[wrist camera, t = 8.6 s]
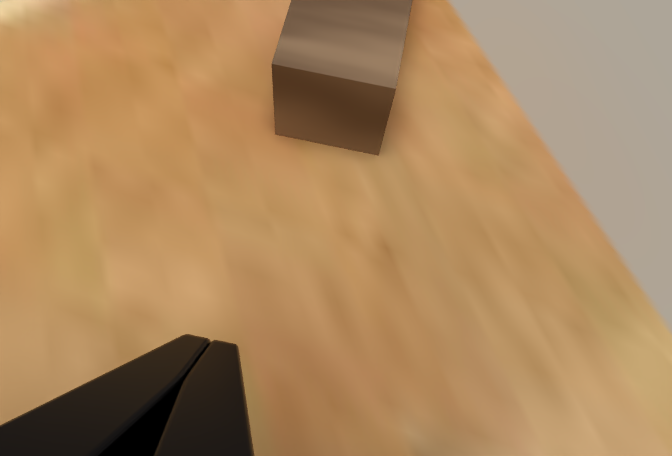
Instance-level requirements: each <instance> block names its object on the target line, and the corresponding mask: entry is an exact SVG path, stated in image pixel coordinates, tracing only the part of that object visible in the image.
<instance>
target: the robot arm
mask: <svg viewBox="0 0 672 456" xmlns="http://www.w3.org/2000/svg"><path fill="white" fill-rule="evenodd" d="M0 456H254V451H253V444H252V437H251V431H250V424H249V417H248V410H247V403H246V396H245V389H244V383H243V376H242V369H241V362H240V355H239V349H238V346H237V345H236V344H233V343H228V342H223V341H218V340H214V341H212V342H211V341H210V340H209V339H208V338H204V337H199V336H194V335H189V334H185V335H182V336H180V337H178V338H176V339H174V340H172V341H170V342H168V343H166V344H164V345H162V346H160V347H158V348H156V349H154V350H152V351H150V352H148V353H146V354H144V355H142V356H140V357H138V358H136V359H134V360H132V361H130V362H128V363H126V364H124V365H122V366H120V367H118V368H116V369H114V370H112V371H110V372H107V373H105V374H103V375H101V376H99V377H97V378H95V379H93V380H91V381H89V382H87V383H85V384H83V385H81V386H79V387H77V388H75V389H73V390H71V391H69V392H67V393H65V394H63V395H61V396H59V397H57V398H55V399H53V400H51V401H49V402H47V403H45V404H43V405H41V406H39V407H37V408H35V409H33V410H31V411H29V412H27V413H25V414H22V415H20V416H18V417H16V418H14V419H12V420H10V421H8V422H6V423H4V424H2V425H0Z"/></svg>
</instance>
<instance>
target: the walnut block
mask: <svg viewBox="0 0 672 456" xmlns="http://www.w3.org/2000/svg"><path fill="white" fill-rule="evenodd" d="M411 5H412V0H291V3H290V6H289V10H288V13H287V16H286V19H285V22H284V26H283V29H282V32H281V35H280V39H279V42H278V45H277V48H276V52H275V55H274V58H273V61H272V79H273V98H274V117H275V134H276V135H281V136H286V137H291V138H296V139H301V140H305V141H310V142H315V143H320V144H325V145H330V146H335V147H340V148H345V149H350V150H354V151H359V152H364V153H369V154H374V155H379V151H380V147H381V143H382V140H383V136H384V132H385V128H386V124H387V121H388V117H389V113H390V109H391V105H392V102H393V98H394V94H395V90H396V86H397V80H398V75H399V69H400V64H401V59H402V53H403V48H404V42H405V37H406V32H407V26H408V21H409V15H410V10H411Z"/></svg>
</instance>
